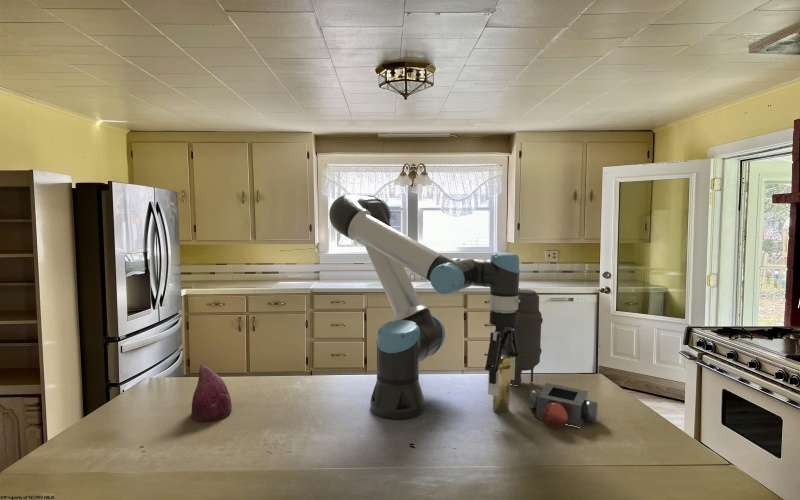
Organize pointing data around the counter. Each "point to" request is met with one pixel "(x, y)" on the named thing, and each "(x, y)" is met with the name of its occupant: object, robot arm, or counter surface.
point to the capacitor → (527, 334)
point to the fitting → (503, 386)
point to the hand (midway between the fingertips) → (501, 386)
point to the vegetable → (210, 397)
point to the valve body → (562, 405)
